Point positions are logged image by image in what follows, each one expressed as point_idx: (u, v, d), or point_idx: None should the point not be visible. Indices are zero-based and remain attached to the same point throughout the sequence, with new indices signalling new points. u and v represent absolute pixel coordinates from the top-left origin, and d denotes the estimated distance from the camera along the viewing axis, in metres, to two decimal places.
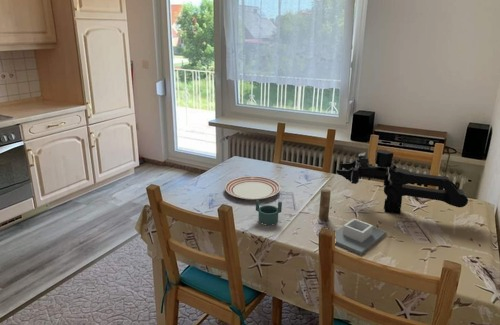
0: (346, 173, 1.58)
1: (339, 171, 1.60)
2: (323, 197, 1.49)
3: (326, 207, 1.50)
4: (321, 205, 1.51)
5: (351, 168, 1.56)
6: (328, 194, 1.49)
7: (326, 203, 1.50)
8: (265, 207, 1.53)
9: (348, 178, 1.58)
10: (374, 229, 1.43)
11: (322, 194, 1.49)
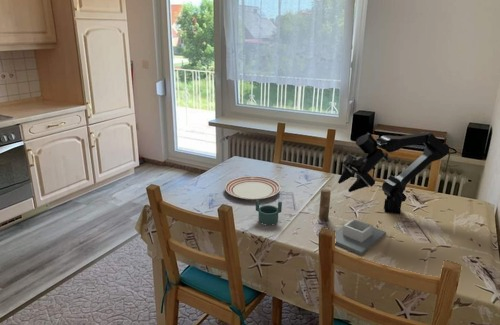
0: (358, 184, 1.46)
1: (351, 189, 1.46)
2: (323, 197, 1.49)
3: (326, 207, 1.50)
4: (321, 205, 1.51)
5: (358, 177, 1.45)
6: (328, 194, 1.49)
7: (326, 203, 1.50)
8: (265, 207, 1.53)
9: (363, 186, 1.46)
10: (374, 229, 1.43)
11: (322, 194, 1.49)
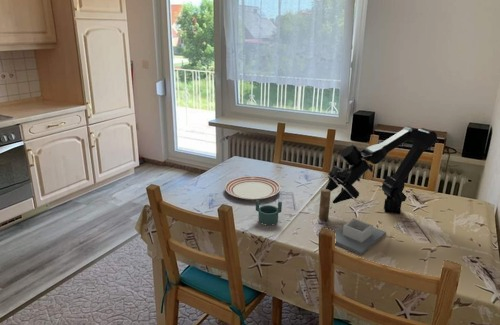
0: (342, 195, 1.46)
1: (336, 200, 1.46)
2: (323, 197, 1.49)
3: (326, 207, 1.50)
4: (321, 205, 1.51)
5: (342, 189, 1.45)
6: (328, 194, 1.49)
7: (326, 203, 1.50)
8: (265, 207, 1.53)
9: (348, 197, 1.46)
10: (374, 229, 1.43)
11: (322, 194, 1.49)
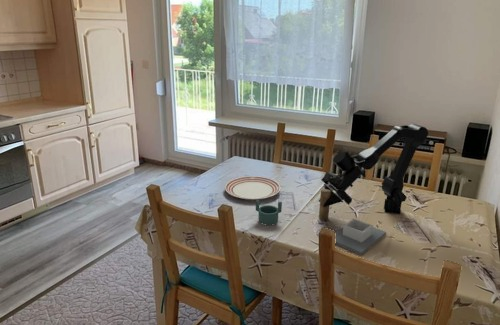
0: (332, 199, 1.48)
1: (326, 204, 1.49)
2: (323, 197, 1.49)
3: (326, 207, 1.50)
4: (321, 205, 1.51)
5: (332, 192, 1.47)
6: (328, 194, 1.49)
7: None
8: (265, 207, 1.53)
9: (338, 201, 1.48)
10: (374, 229, 1.43)
11: (322, 194, 1.49)
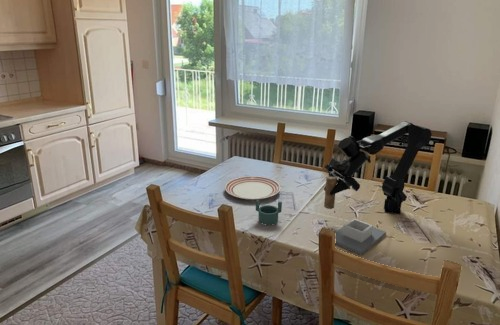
0: (339, 186, 1.43)
1: (333, 192, 1.43)
2: (329, 185, 1.44)
3: (332, 195, 1.45)
4: (327, 193, 1.45)
5: (339, 179, 1.42)
6: (334, 181, 1.43)
7: None
8: (265, 207, 1.53)
9: (345, 188, 1.43)
10: (374, 229, 1.43)
11: (328, 182, 1.44)
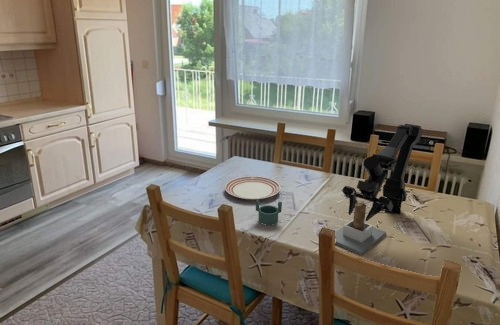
0: (374, 210, 1.33)
1: (369, 217, 1.33)
2: (361, 213, 1.33)
3: (363, 222, 1.35)
4: (358, 222, 1.35)
5: (374, 203, 1.32)
6: (365, 208, 1.34)
7: (363, 218, 1.35)
8: (265, 207, 1.53)
9: (378, 211, 1.34)
10: (374, 229, 1.43)
11: (360, 209, 1.33)
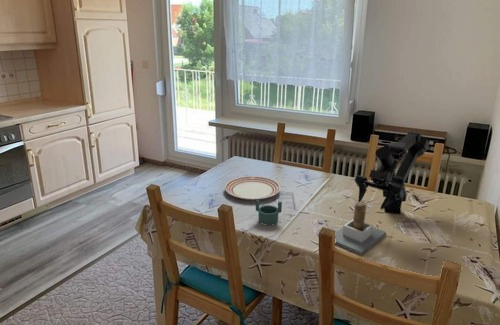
0: (388, 199, 1.38)
1: (384, 206, 1.38)
2: (361, 213, 1.34)
3: (363, 222, 1.35)
4: (358, 222, 1.35)
5: (389, 192, 1.37)
6: (365, 208, 1.34)
7: (364, 218, 1.35)
8: (265, 207, 1.53)
9: (392, 200, 1.40)
10: (374, 229, 1.43)
11: (360, 209, 1.33)
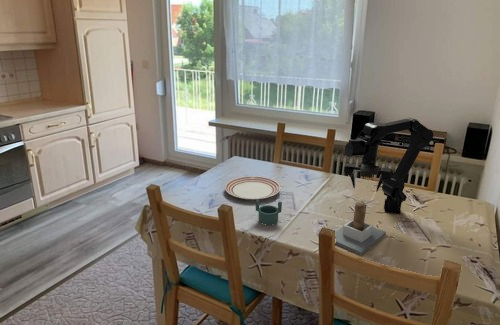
0: None
1: (378, 188, 1.50)
2: (361, 213, 1.34)
3: (363, 222, 1.35)
4: (358, 222, 1.35)
5: (381, 179, 1.46)
6: (365, 208, 1.34)
7: (364, 218, 1.35)
8: (265, 207, 1.53)
9: None
10: (374, 229, 1.43)
11: (360, 209, 1.33)
